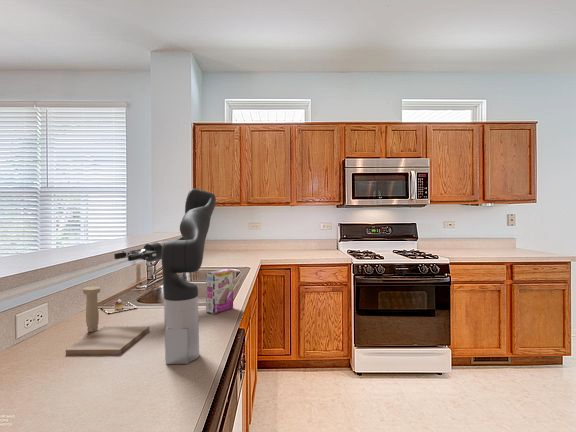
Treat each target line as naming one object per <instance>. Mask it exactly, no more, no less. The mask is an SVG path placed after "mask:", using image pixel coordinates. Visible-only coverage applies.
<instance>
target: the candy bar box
mask: <svg viewBox="0 0 576 432" xmlns="http://www.w3.org/2000/svg"><path fill="white" fill-rule="evenodd" d="M205 275H206V276H205V277H206V278H205V279H206V282H205V284H206V286H205V293H206V294H205V295H206V297H205V298H206V299H205V302H206V303H205V305H206V306H205V307H206V309H205V311H206V313H208V314H211V315H216V314H219V313H222V312H225V311H228V310H230V309H233V308H234V270H233V269H226V268H225V269H224V268H223V269H219V270H213V271H209V272H206V274H205Z"/></svg>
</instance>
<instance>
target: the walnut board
mask: <svg viewBox="0 0 576 432" xmlns="http://www.w3.org/2000/svg"><path fill="white" fill-rule="evenodd" d="M148 332H150V326H148V325H146V326H145V325H144V326H142V325H141V326H140V325H138V326H135V325H134V326H128V325H127V326H102V327H101V328H98V329H97V331H94V332H91V334H89V335H87V336H86V337H84V338H82V339H81V340H79V341H78V342H76V343H74V344H73V345H71V346H69V347H68V348H66V349H65V355H66V356H68V355H69V356H70V355H71V356H79V355H81V356H84V355H85V356H89V355H91V356H92V355H95V356H99V355H100V356H102V355H103V356H105V355H106V356H107V355H108V356H109V355H112V356H113V355H117V356H118V355H119V356H120V355H122V354H123V353H124V352H126V350H128V349H129V348H130V347H132V346H133V344H135V343H136V342H138V341H139V340H140V339H141V338H142V337H143V336H144V335H146V334H147V333H148Z"/></svg>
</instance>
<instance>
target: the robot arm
mask: <svg viewBox="0 0 576 432" xmlns="http://www.w3.org/2000/svg"><path fill="white" fill-rule="evenodd" d="M185 199H186V200H185V206H184V207H185V208H184V215H183V216H182V219H181V221H180V223H179V224H180V225H179V231H180V234H181V236H180V237H179V238H176V239H173V240H172V239H170V240H166V241H157V242H149V243H146V244H145V245H144V246H143V248H137V249H135V248H133V249H126V250H121V252H115V253H114V259H115V260H119V259H127V261H129V262H131V261H147V262H148V263H151V262H157V261H161V269H162V287H163V304H164V305H163V308H164V309H163V310H164V311H163V315H164V317H163V319H164V320H163V322H164V360H165V365H188V364H190V363H191V362H193V361H196V360H197V359H198V358H200V335H199V334H200V329H199V325H200V323H199V322H200V321H199V288H198V286H197V284H194V283H192V282H189V281H187V280H184V279H183V278H180V276H178V274H183V273H184V274H185V273H187V274H189V273H190V274H191V273H197V272H198V271H199V270H200V268H201V267H202V263H203V259H204V251H205V243H206V242H205V241H206V239H207V235H208V232H209V229H210V224H211V217H212V215H213V212H214V210H215V207H216V202H217V197H216V195H215V194H214V193H212V192H209V191H206V190H203V189H199V188H190V190H189V192H188V193H187V195H186V198H185Z"/></svg>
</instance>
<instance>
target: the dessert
mask: <svg viewBox="0 0 576 432" xmlns="http://www.w3.org/2000/svg"><path fill="white" fill-rule="evenodd" d="M127 302H128V303H130V304H131V305H133V306H135V308H136V309H137V308H138V306H137V305H135V304H133V303H131V302H129V301H127ZM123 303H124V302H123V301H122V300H121V299H120V298H119V299H117V300H115V302H114V304H113V305H114V307H112V309H113V308H114V309H121V308H123V307H125V305H123ZM129 309H131V310H135V309H134V308H132V307H131V308H126V309H121V310H114V311H110V312H109V311H108V310H106V311H104V312H105V313H106V314H108V312H109V313H111V314H114V313H113V312H116V313H120V312H119V311H121V312H125V311H124V310H126V311H130V310H129ZM107 311H108V312H107Z"/></svg>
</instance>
